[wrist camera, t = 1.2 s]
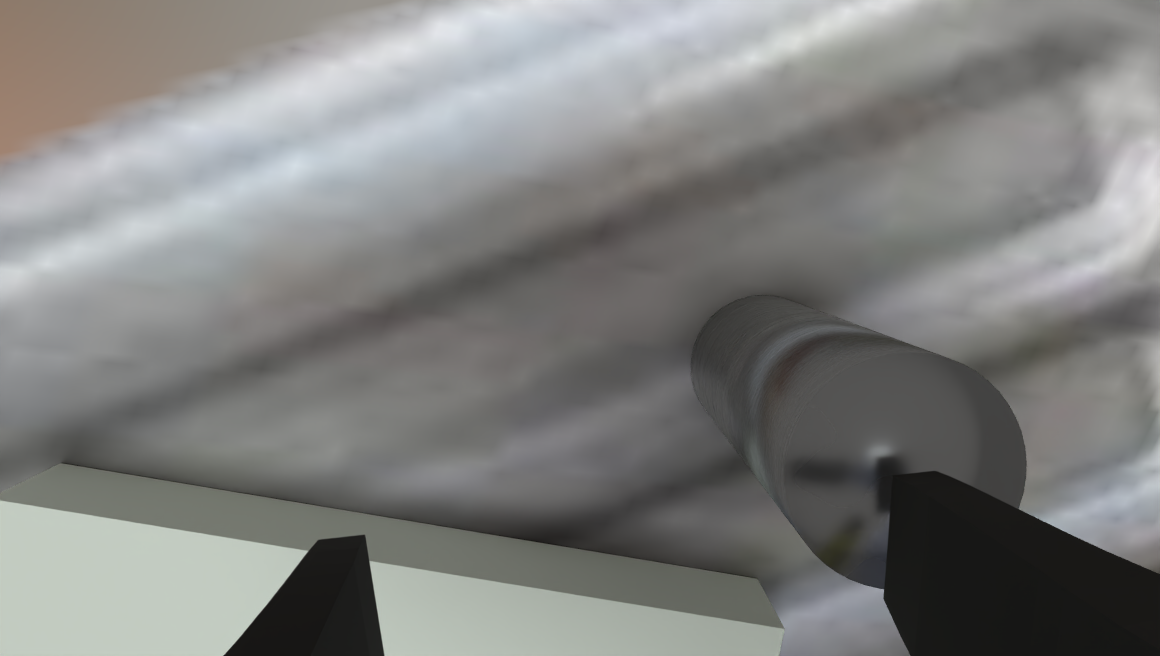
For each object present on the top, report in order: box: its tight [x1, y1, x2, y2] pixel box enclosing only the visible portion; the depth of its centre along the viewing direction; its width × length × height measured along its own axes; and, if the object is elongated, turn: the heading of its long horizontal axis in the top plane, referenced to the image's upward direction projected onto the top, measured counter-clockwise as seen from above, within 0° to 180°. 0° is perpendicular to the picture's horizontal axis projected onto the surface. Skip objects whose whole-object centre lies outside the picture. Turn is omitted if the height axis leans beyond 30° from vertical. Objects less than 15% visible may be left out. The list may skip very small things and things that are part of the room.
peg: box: [691, 295, 1026, 589], centre depth 19 cm, size 4×4×10 cm
